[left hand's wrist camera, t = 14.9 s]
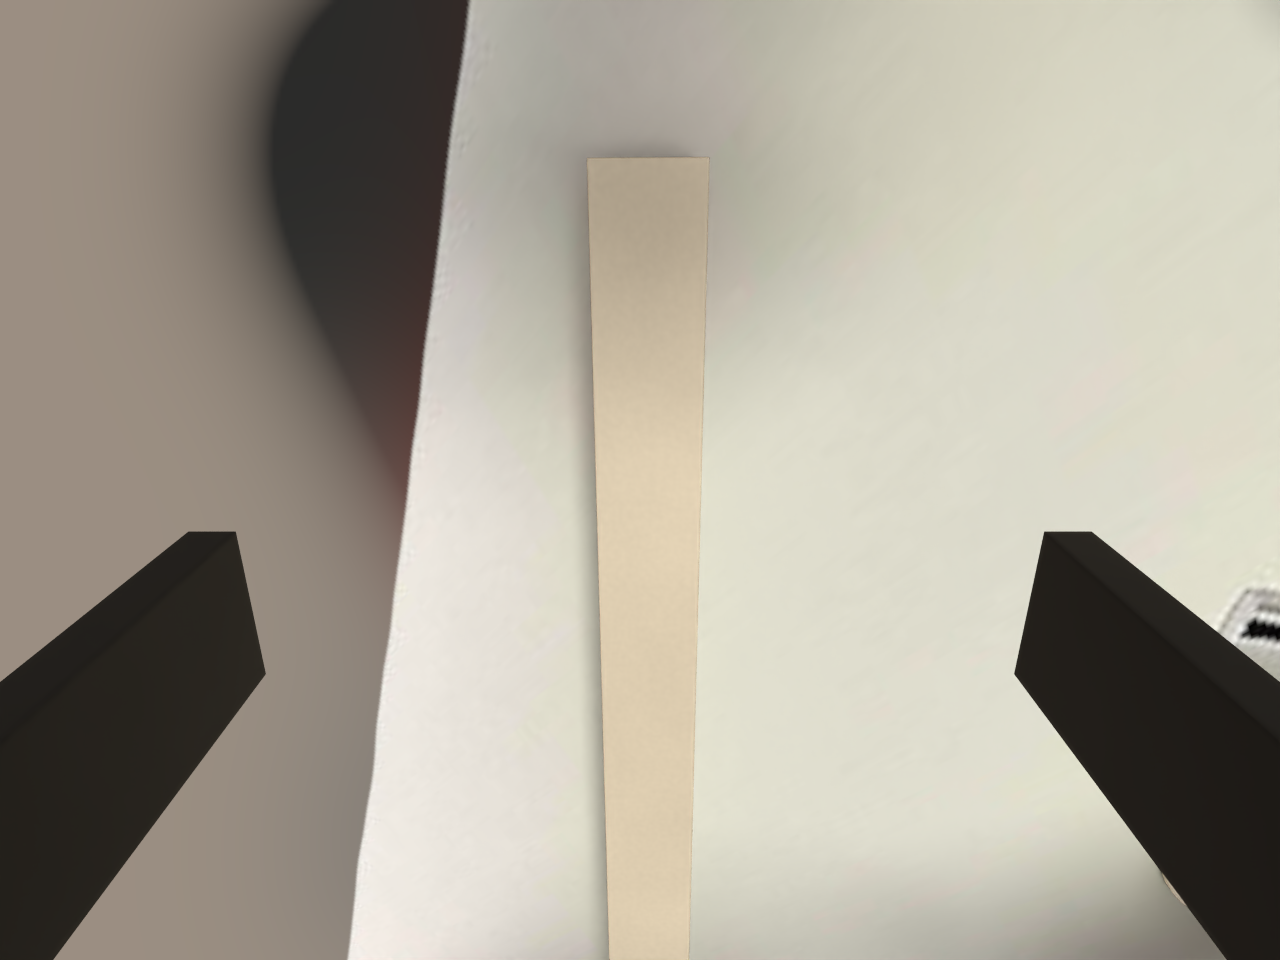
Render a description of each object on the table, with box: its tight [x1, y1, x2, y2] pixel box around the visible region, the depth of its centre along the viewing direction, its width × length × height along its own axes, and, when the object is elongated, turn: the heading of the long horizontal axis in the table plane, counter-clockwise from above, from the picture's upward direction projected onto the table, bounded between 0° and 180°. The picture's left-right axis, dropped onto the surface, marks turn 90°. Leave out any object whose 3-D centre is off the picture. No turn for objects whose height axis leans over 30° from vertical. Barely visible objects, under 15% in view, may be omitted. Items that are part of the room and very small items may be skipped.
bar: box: [587, 157, 710, 960], centre depth 52 cm, size 69×6×8 cm, turn 0°
